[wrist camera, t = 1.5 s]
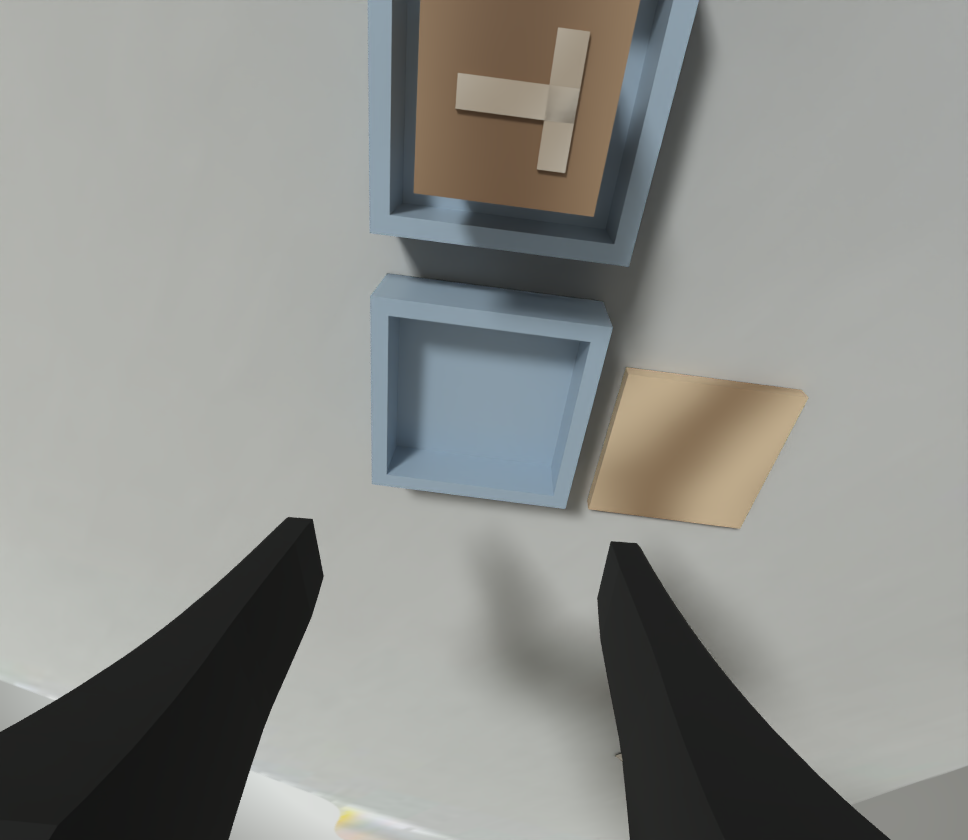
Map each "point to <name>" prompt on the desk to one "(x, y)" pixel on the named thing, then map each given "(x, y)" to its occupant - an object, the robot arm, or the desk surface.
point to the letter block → (519, 99)
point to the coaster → (691, 446)
